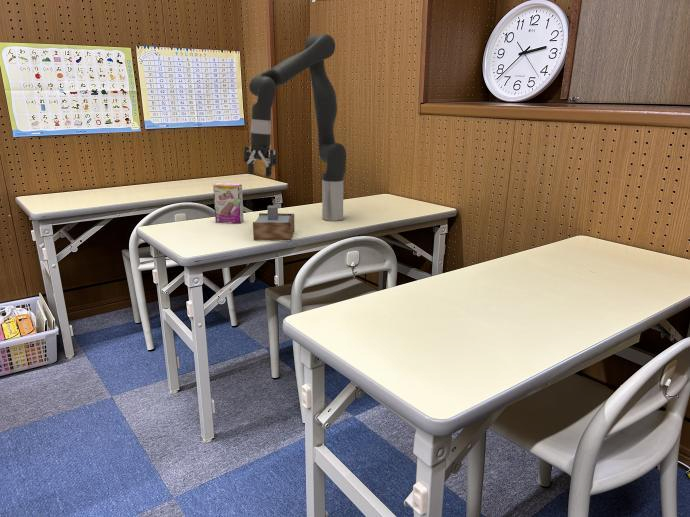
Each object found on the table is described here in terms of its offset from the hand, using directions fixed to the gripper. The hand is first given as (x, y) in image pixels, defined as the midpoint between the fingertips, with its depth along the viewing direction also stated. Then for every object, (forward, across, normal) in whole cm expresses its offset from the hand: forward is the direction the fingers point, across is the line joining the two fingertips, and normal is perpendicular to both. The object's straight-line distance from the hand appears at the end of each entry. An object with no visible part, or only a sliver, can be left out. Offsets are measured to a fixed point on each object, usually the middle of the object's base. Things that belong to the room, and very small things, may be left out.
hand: (259, 175), depth 193 cm
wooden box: (+22, -8, 0) cm, 24 cm away
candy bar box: (+23, +21, -6) cm, 32 cm away
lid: (+17, -8, 0) cm, 19 cm away
